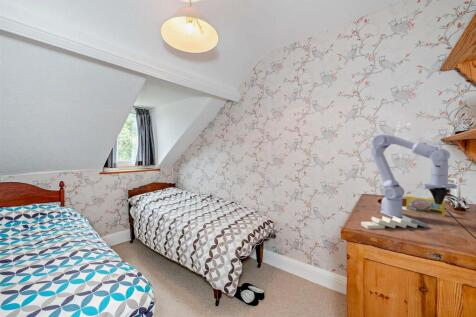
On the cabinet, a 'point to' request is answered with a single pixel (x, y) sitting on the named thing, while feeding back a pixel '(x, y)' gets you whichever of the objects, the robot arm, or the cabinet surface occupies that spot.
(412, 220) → the slate domino
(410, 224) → the ivory domino
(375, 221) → the ivory domino
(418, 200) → the candy box
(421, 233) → the cabinet surface
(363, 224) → the ivory domino
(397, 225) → the ivory domino
